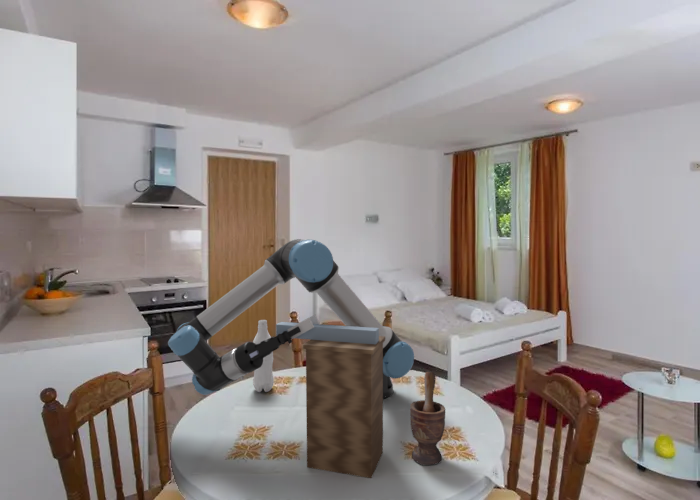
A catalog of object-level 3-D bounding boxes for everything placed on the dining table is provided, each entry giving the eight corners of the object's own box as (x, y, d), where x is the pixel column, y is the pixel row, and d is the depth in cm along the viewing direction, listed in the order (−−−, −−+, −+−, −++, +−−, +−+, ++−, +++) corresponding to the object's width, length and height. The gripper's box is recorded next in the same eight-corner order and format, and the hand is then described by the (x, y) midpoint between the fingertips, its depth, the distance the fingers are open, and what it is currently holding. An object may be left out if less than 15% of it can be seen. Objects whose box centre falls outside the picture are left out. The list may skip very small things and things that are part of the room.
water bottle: (269, 394, 150) (268, 323, 148) (249, 392, 151) (248, 322, 150) (276, 387, 157) (275, 319, 155) (258, 385, 158) (257, 318, 157)
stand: (304, 468, 103) (303, 344, 102) (323, 442, 115) (322, 332, 114) (373, 479, 98) (372, 350, 97) (385, 451, 111) (385, 336, 109)
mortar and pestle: (404, 443, 115) (404, 370, 114) (436, 442, 115) (436, 369, 114) (414, 467, 103) (414, 385, 102) (449, 466, 104) (449, 384, 103)
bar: (276, 336, 109) (276, 324, 109) (281, 333, 112) (281, 321, 112) (375, 344, 102) (375, 331, 101) (378, 341, 105) (378, 328, 104)
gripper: (264, 363, 122) (332, 327, 115) (232, 383, 106) (308, 342, 99) (252, 340, 122) (319, 302, 116) (219, 356, 107) (293, 313, 100)
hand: (314, 320), depth 108 cm, fingers open, 3 cm apart
